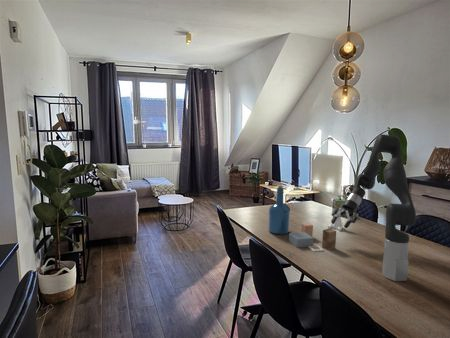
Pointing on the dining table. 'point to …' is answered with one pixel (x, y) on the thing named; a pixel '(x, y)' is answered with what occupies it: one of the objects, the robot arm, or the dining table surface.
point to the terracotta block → (307, 228)
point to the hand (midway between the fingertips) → (338, 225)
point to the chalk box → (338, 203)
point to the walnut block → (329, 239)
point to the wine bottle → (279, 215)
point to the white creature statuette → (336, 224)
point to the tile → (315, 248)
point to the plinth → (301, 239)
